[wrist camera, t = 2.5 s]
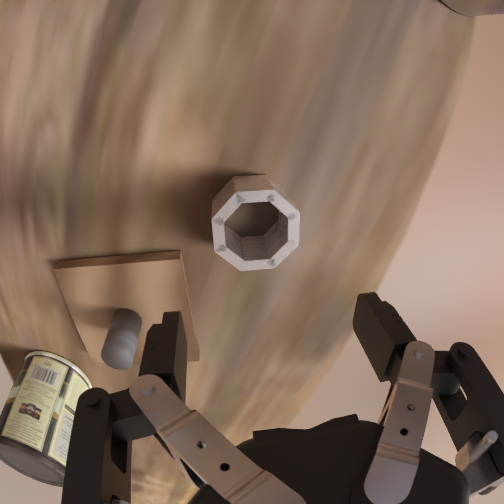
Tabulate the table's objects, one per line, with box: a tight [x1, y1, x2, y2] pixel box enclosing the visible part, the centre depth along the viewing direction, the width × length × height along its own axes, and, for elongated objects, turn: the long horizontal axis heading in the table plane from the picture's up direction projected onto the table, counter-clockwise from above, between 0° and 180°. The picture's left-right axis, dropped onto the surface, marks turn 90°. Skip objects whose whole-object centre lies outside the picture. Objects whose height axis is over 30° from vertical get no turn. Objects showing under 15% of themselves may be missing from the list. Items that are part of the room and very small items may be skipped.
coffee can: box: [0, 351, 92, 487], centre depth 27 cm, size 10×10×14 cm
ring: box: [211, 174, 300, 271], centre depth 24 cm, size 6×6×4 cm
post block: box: [53, 250, 200, 370], centre depth 26 cm, size 12×12×6 cm
